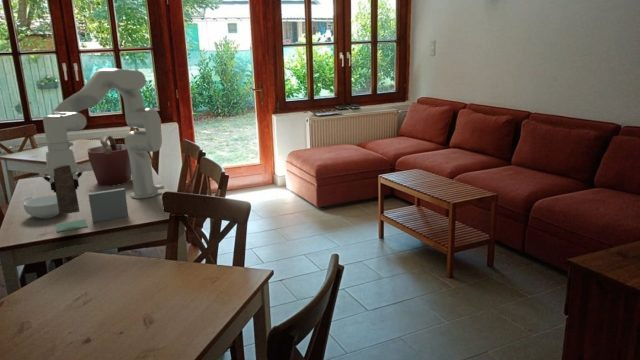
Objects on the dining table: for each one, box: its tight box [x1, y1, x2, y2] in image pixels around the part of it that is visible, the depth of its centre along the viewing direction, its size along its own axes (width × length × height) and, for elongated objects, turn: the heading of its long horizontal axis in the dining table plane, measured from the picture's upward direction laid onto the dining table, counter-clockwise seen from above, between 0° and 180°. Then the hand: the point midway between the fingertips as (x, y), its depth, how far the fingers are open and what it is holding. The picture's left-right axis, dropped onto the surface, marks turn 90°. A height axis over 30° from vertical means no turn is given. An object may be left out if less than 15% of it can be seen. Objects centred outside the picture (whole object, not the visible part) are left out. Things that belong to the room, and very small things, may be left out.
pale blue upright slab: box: [87, 187, 129, 223], centre depth 209 cm, size 14×2×12 cm, turn 119°
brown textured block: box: [53, 165, 80, 215], centre depth 199 cm, size 8×7×20 cm
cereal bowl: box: [23, 194, 60, 219], centre depth 216 cm, size 17×17×7 cm
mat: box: [55, 218, 89, 233], centre depth 203 cm, size 11×10×1 cm
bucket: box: [87, 135, 132, 187], centre depth 266 cm, size 24×22×25 cm
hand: (65, 190), depth 199 cm, fingers closed on brown textured block, 7 cm apart
